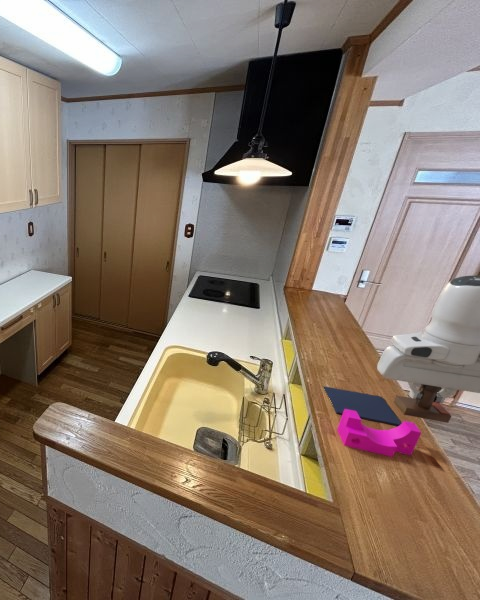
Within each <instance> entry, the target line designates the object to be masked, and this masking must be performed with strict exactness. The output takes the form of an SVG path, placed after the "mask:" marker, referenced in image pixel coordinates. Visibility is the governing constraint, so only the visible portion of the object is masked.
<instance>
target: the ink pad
mask: <svg viewBox="0 0 480 600" xmlns="http://www.w3.org/2000/svg"><path fill="white" fill-rule="evenodd" d="M323 387H324V388H323V390H324V389H325V390H324V392H325V391H326V392H325V394H326V393H327V394H326V395H328V396H327V397H329V398H330V400H331V402H332V403H331V402H330V403H331V405H332V404H333V405H332V407H333V410H334V412H335V413H336V414H337V415H342V414H343V411H344V409H348V410H353V411H356V412H357V413H358V415H359V417H360V419H361V420H367V421H372V422H377V423H382V424H387V425H391V426H395V427H398V426H399V425H401V424H402V423H403V422H401V420H400V419H399V417H398V416H397V415H396V414H395V412H394V410H393V409H392V408H391V407H390V406H389V404H388V403H387V401H386V400H385V399H384V397H383V396H380V395H374V394H370V393H365V392H357V391H352V390H347V389H341V388H336V387H330V386H325V385H324V386H323ZM329 398H328V399H329ZM330 400H329V401H330Z"/></svg>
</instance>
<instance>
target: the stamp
mask: <svg viewBox="0 0 480 600" xmlns="http://www.w3.org/2000/svg"><path fill="white" fill-rule="evenodd" d="M420 387H421V388H420V389H419V391H420V392H421V393H422V394H423V396H422V397H421V400H419V399H412V398H411V397H408V396H404V395H403V396H402V395H395V398H394V400H393V403H394V404H395V406H396V407H397V408H398V409H399V410H400V412H401V413H402V415H404V416H409V417H414V418H420V419H425V420H431V421H436V422H440V423H441V422H442V423H447V424H448V423H449V422H450V421H451V418H452V415H451V413H450V412H449V411H448V410H447V409H446V408H445V407H444V406H443V405H442V403H436V402H433V401H434V399H435V397H436V395H437V393H438V392H439V391H440V390H442V389H443V387H437V386H430V385H424V384H421V386H420Z"/></svg>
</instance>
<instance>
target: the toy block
mask: <svg viewBox="0 0 480 600" xmlns="http://www.w3.org/2000/svg"><path fill="white" fill-rule="evenodd" d="M401 423H402V424H401V425H399V426H395V427H393V428H390V429H375V428H372V427H368V426H367V425H365V424H364V423H362V419H361V418H360V417H359V415H358V413H357V412H356V411H353V410H348V409H344V411H343V414H341V417H340V420H339V424H338V426H337V429H336V431H337V433H338V435H339V438H340V439H341V442H342V444H343V445H344V446H345V447H349V448H352V449H357V450H360V451H361V450H362V451H366V452H369V453H375V454H379V455H382V456H386V457H387V456H388V457H391V458H393V457H394V455H395V453H400V454H404V455H407V456H412V454H413V453H414V450H415V447H416V445H417V443H418V441H419V439H420V437H421V434H422V432H421V430H420V429H419V428H418V426H417V425H416V423H415V422H411V421H406V420H403V422H401Z"/></svg>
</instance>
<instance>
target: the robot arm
mask: <svg viewBox="0 0 480 600" xmlns="http://www.w3.org/2000/svg"><path fill="white" fill-rule="evenodd" d="M434 303H435V304H434V306H433V308H432V311H431V319H430V321H429V323H428V324H427V325H426V326H425V327H424V330H423V331H419V332H412V333H404V334H394V335H393V336H392V337H391V339H390V342H391V343H392V345H389V346H388V347H386V348H385V349H384V351H383V352H382V353H381V356H380V358H379V360H378V363H377V365H376V369H377V371H378V373H379V374H380V375H381V376H382V377H383V378H384V379H386V380H392V381H399V382H406V383H407V384H408V386H409V388H410V390H409V392H408V396H409V398H412V399H419V400H421V397H422V396H423V394H422V393H421V392H420V389H418V388H420V387H422V386H421V384H424V385H430V386H437V387H442V389H441V390H440V391H439V392H438V393H437V395H436V397H435V399H434V401H433V402H436V403H440V404H441V405H442V404H444V402H445V400H446V399H447V398H449V397H451V396H454V395H455V394H456V393H457V391H464V392H468V393H469V392H470V393H476V394H480V275H462V276H459V277H458V276H457V277H454V278H452V279H450V281H448V282H447V283H446V284H445V285H444V287H443V289H442V290H441V291H440V294H439V295H438V297H437V299H436V301H435V302H434Z"/></svg>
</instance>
